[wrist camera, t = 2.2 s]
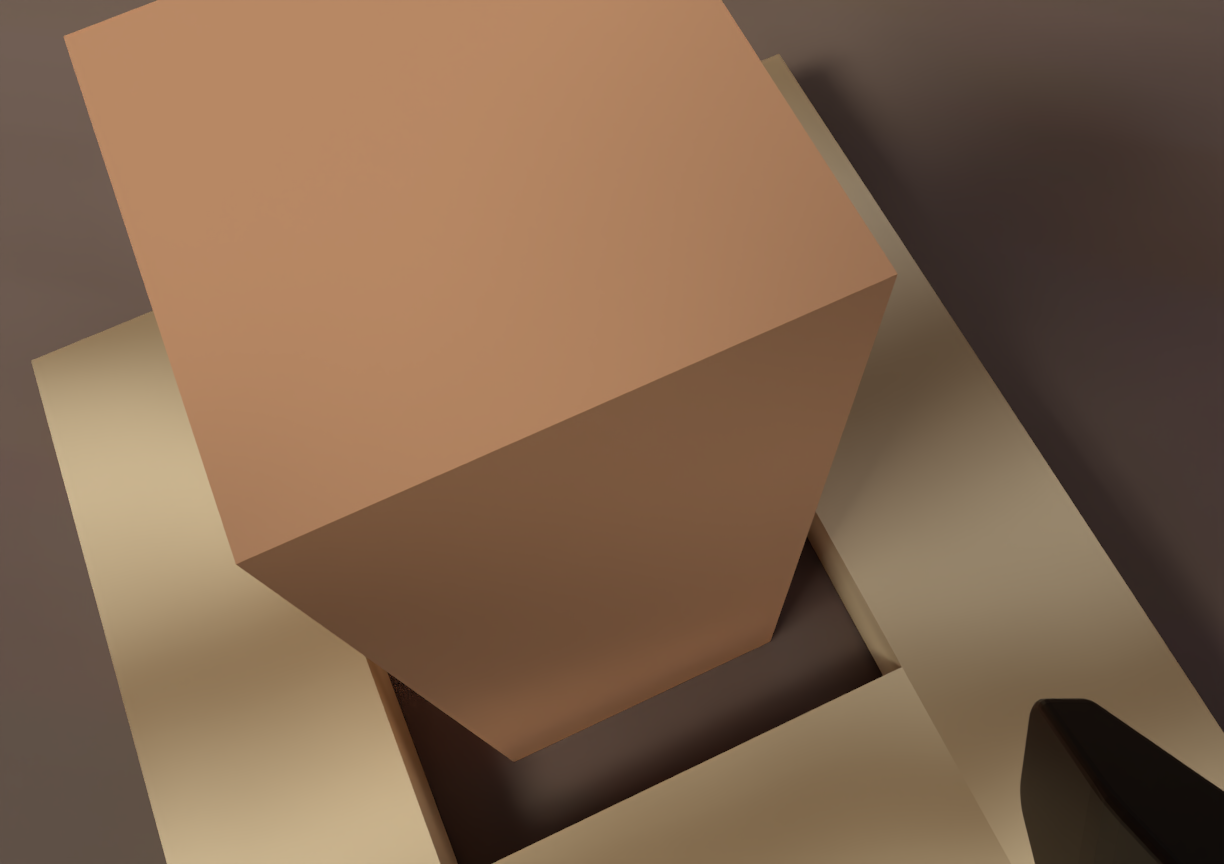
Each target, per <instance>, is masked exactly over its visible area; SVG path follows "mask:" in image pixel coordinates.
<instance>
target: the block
mask: <svg viewBox="0 0 1224 864" xmlns="http://www.w3.org/2000/svg"><path fill="white" fill-rule="evenodd" d="M64 39H65V42H66V45H67V48H68V51H69V55H70V58H71V61H72V64H73V67H74V70H75V73H76V76H77V79H78V82H79V85H80V88H81V91H82V94H83V97H84V101H85V104H86V107H87V110H88V113H89V116H90V119H91V122H92V125H93V128H94V131H95V134H96V137H97V140H98V143H99V147H100V150H101V153H102V156H103V159H104V162H105V165H106V168H107V171H108V174H109V177H110V180H111V183H112V186H113V189H114V192H115V196H116V199H117V202H118V205H119V208H120V211H121V214H122V217H123V220H124V223H125V226H126V229H127V232H128V235H129V238H130V242H131V245H132V248H133V251H134V254H135V257H136V260H137V263H138V266H139V269H140V272H141V275H142V278H143V281H144V284H145V288H146V291H147V294H148V297H149V300H150V303H151V306H152V309H153V312H154V315H155V318H156V321H157V324H158V327H159V330H160V334H161V337H162V340H163V343H164V346H165V349H166V352H167V355H168V358H169V361H170V364H171V367H172V370H173V373H174V376H175V379H176V383H177V386H178V389H179V392H180V395H181V398H182V401H183V404H184V407H185V410H186V413H187V416H188V419H189V422H190V425H191V429H192V432H193V435H194V438H195V441H196V444H197V447H198V450H199V453H200V456H201V459H202V462H203V465H204V468H205V471H206V474H207V478H208V481H209V484H210V487H211V490H212V493H213V496H214V499H215V502H216V505H217V508H218V511H219V514H220V517H221V520H222V524H223V527H224V530H225V533H226V536H227V539H228V542H229V545H230V548H231V551H232V554H233V557H234V560H235V563H236V565H237V566H239V567H240V568H242V569H243V570H245V571H246V572H247V573H249V574H250V575H252V576H253V577H254V578H256V579H257V580H259V581H260V582H261V583H263V584H264V585H266V586H267V587H268V588H270V589H271V590H273V591H274V592H275V593H277V594H278V595H280V596H281V597H282V598H284V599H285V600H287V601H288V602H290V603H291V604H292V605H294V606H295V607H297V608H298V609H299V610H301V611H302V612H304V613H305V614H306V615H308V616H309V617H311V618H312V619H313V620H315V621H316V622H318V623H319V624H320V625H322V626H323V627H325V628H326V629H327V630H329V631H330V632H332V633H333V634H335V635H336V636H337V637H339V638H340V639H342V640H343V641H344V642H346V643H347V644H349V645H350V646H351V647H353V648H354V649H356V650H357V651H358V652H360V653H361V654H363V655H364V656H365V657H367V658H368V659H370V660H371V661H372V662H374V663H375V664H377V665H378V666H380V667H381V668H382V669H384V670H385V671H387V672H388V673H389V674H391V675H392V676H394V677H395V678H396V679H398V680H399V681H401V682H402V683H403V684H405V685H406V686H408V687H409V688H410V689H412V690H413V691H415V692H416V693H418V694H419V695H420V696H422V697H423V698H425V699H426V700H427V701H429V702H430V703H432V704H433V705H434V706H436V707H437V708H439V709H440V710H441V711H443V712H444V713H446V714H447V715H448V716H450V717H451V718H453V719H454V720H455V721H457V722H458V723H460V724H461V725H463V726H464V727H465V728H467V729H468V730H470V731H471V732H472V733H474V734H475V735H477V736H478V737H479V738H481V739H482V740H484V741H485V742H486V743H488V744H489V745H491V746H492V747H493V748H495V749H496V750H498V751H499V752H500V753H502V754H503V755H505V756H506V757H508V758H509V759H510V760H512V761H513V762H516V761H518V760H520V759H522V758H524V757H526V756H528V755H530V754H533V753H535V752H537V751H539V750H541V749H543V748H545V747H547V746H550V745H552V744H554V743H556V742H558V741H560V740H562V739H564V738H567V737H569V736H571V735H573V734H575V733H577V732H579V731H581V730H584V729H586V728H588V727H590V726H592V725H594V724H596V723H598V722H601V721H603V720H605V719H607V718H609V717H611V716H613V715H615V714H618V713H620V712H622V711H624V710H626V709H628V708H630V707H632V706H635V705H637V704H639V703H641V702H643V701H645V700H647V699H649V698H652V697H654V696H656V695H658V694H660V693H662V692H664V691H666V690H669V689H671V688H673V687H675V686H677V685H679V684H681V683H683V682H686V681H688V680H690V679H692V678H694V677H696V676H698V675H700V674H703V673H705V672H707V671H709V670H711V669H713V668H715V667H717V666H720V665H722V664H724V663H726V662H728V661H730V660H732V659H734V658H737V657H739V656H741V655H743V654H745V653H747V652H749V651H751V650H754V649H756V648H758V647H760V646H762V645H764V644H766V643H768V642H770V641H771V638H772V636H773V633H774V630H775V627H776V624H777V621H778V618H779V615H780V612H781V610H782V607H783V604H784V601H785V598H786V595H787V592H788V589H789V587H790V584H791V581H792V578H793V575H794V572H795V569H796V566H797V563H798V561H799V558H800V555H801V552H802V549H803V546H804V543H805V540H806V537H807V535H808V532H809V529H810V526H811V523H812V520H813V517H814V514H815V511H816V509H817V506H818V503H819V500H820V497H821V494H822V491H823V488H824V485H825V483H826V480H827V477H828V474H829V471H830V468H831V465H832V462H833V459H834V457H835V454H836V451H837V448H838V445H839V442H840V439H841V436H842V433H843V431H844V428H845V425H846V422H847V419H848V416H849V413H850V410H851V407H852V405H853V402H854V399H855V396H856V393H857V390H858V387H859V384H860V381H861V379H862V376H863V373H864V370H865V367H866V364H867V361H868V358H869V355H870V353H871V350H872V347H873V344H874V341H875V338H876V335H877V332H878V330H879V327H880V324H881V321H882V318H883V315H884V312H885V309H886V306H887V304H888V301H889V298H890V295H891V292H892V289H893V286H894V283H895V280H896V278H897V275H898V274H897V272H896V271H895V269H894V267H893V266H892V264H891V263H890V261H889V260H888V258H887V257H886V255H885V253H884V252H883V250H882V249H881V247H880V246H879V244H878V243H877V241H876V239H875V238H874V236H873V235H872V233H871V232H870V230H869V229H868V227H867V225H866V224H865V222H864V221H863V219H862V218H861V216H860V215H859V213H858V212H857V210H856V208H855V207H854V205H853V204H852V202H851V201H850V199H849V198H848V196H847V194H846V193H845V191H844V190H843V188H842V187H841V185H840V184H839V182H838V180H837V179H836V177H835V176H834V174H833V173H832V171H831V170H830V168H829V167H828V165H827V163H826V162H825V160H824V159H823V157H822V156H821V154H820V153H819V151H818V149H817V148H816V146H815V145H814V143H813V142H812V140H811V139H810V137H809V135H808V134H807V132H806V131H805V129H804V128H803V126H802V125H801V123H800V121H799V120H798V118H797V117H796V115H795V114H794V112H793V111H792V109H791V108H790V106H789V104H788V103H787V101H786V100H785V98H784V97H783V95H782V94H781V92H780V90H779V89H778V87H777V86H776V84H775V83H774V81H773V80H772V78H771V76H770V75H769V73H768V72H767V70H766V69H765V67H764V66H763V64H762V62H761V61H760V59H759V58H758V56H757V55H756V53H755V52H754V50H753V49H752V47H751V45H750V44H749V42H748V41H747V39H746V38H745V36H744V35H743V33H742V31H741V30H740V28H739V27H738V25H737V24H736V22H735V21H734V19H733V17H732V16H731V14H730V13H729V11H728V10H727V8H726V7H725V5H724V4H723V2H722V0H157V1H155V2H152V3H150V4H147V5H144V6H142V7H139V8H136V9H134V10H131V11H129V12H126V13H123V14H121V15H118V16H115V17H113V18H110V19H108V20H105V21H102V22H100V23H97V24H94V25H92V26H89V27H87V28H84V29H81V30H79V31H76V32H73V33H71V34H68V35H66V36H64Z"/></svg>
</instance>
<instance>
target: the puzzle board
mask: <svg viewBox="0 0 1224 864" xmlns="http://www.w3.org/2000/svg"><path fill="white" fill-rule="evenodd" d="M761 62H762V64H763V66H764V67H765V69H766V70H767V72H768V73H769V75H770V76H771V78H772V80H773V81H774V83H775V84H776V86H777V87H778V89H779V90H780V92H781V94H782V95H783V97H784V98H785V100H786V101H787V103H788V104H789V106H790V108H791V109H792V111H793V112H794V114H795V115H796V117H797V118H798V120H799V121H800V123H801V125H802V126H803V128H804V129H805V131H806V132H807V134H808V135H809V137H810V139H811V140H812V142H813V143H814V145H815V146H816V148H817V149H818V151H819V153H820V154H821V156H822V157H823V159H824V160H825V162H826V163H827V165H828V167H829V168H830V170H831V171H832V173H833V174H834V176H835V177H836V179H837V180H838V182H839V184H840V185H841V187H842V188H843V190H844V191H845V193H846V194H847V196H848V198H849V199H850V201H851V202H852V204H853V205H854V207H855V208H856V210H857V212H858V213H859V215H860V216H861V218H862V219H863V221H864V222H865V224H866V225H867V227H868V229H869V230H870V232H871V233H872V235H873V236H874V238H875V239H876V241H877V243H878V244H879V246H880V247H881V249H882V250H883V252H884V253H885V255H886V257H887V258H888V260H889V261H890V263H891V264H892V266H893V267H894V269H895V271H896V272H897V274H898V275H897V278H896V280H895V283H894V286H893V289H892V292H891V295H890V298H889V301H888V304H887V306H886V309H885V312H884V315H883V318H882V321H881V324H880V327H879V330H878V332H877V335H876V338H875V341H874V344H873V347H872V350H871V353H870V355H869V358H868V361H867V364H866V367H865V370H864V373H863V376H862V379H861V381H860V384H859V387H858V390H857V393H856V396H855V399H854V402H853V405H852V407H851V410H850V413H849V416H848V419H847V422H846V425H845V428H844V431H843V433H842V436H841V439H840V442H839V445H838V448H837V451H836V454H835V457H834V459H833V462H832V465H831V468H830V471H829V474H828V477H827V480H826V483H825V485H824V488H823V491H822V494H821V497H820V500H819V503H818V506H817V509H816V511H815V514H814V517H813V520H812V523H811V526H810V529H809V532H808V535H807V537H808V539H809V541H810V543H811V545H812V547H813V548H814V550H815V552H816V554H817V556H818V558H819V559H820V561H821V563H822V565H823V567H824V569H825V570H826V572H827V574H828V576H829V578H830V580H831V581H832V583H833V585H834V587H835V589H836V591H837V592H838V594H839V596H840V598H841V600H842V602H843V603H844V605H845V607H846V609H847V611H848V613H849V614H850V616H851V618H852V620H853V622H854V624H855V625H856V627H857V629H858V631H859V633H860V634H861V636H862V638H863V640H864V642H865V644H866V645H867V647H868V649H869V651H870V653H871V655H872V656H873V658H874V660H875V662H876V664H877V666H878V667H879V669H880V671H881V673H882V675H883V676H882V677H880V678H878V679H876V680H874V681H872V682H870V683H867V684H865V685H863V686H861V687H859V688H857V689H855V690H853V691H851V692H849V693H847V694H845V695H842V696H840V697H838V698H836V699H834V700H832V701H830V702H828V703H826V704H824V705H822V706H820V707H817V708H815V709H813V710H811V711H809V712H807V713H805V714H803V715H801V716H799V717H797V718H795V719H792V720H790V721H788V722H786V723H784V724H782V725H780V726H778V727H776V728H774V729H772V730H770V731H767V732H765V733H763V734H761V735H759V736H757V737H755V738H753V739H751V740H749V741H747V742H745V743H742V744H740V745H738V746H736V747H734V748H732V749H730V750H728V751H726V752H724V753H722V754H720V755H717V756H715V757H713V758H711V759H709V760H707V761H705V762H703V763H701V764H699V765H697V766H695V767H692V768H690V769H688V770H686V771H684V772H682V773H680V774H678V775H676V776H674V777H672V778H669V779H667V780H665V781H663V782H661V783H659V784H657V785H655V786H653V787H651V788H649V789H647V790H644V791H642V792H640V793H638V794H636V795H634V796H632V797H630V798H628V799H626V800H624V801H622V802H619V803H617V804H615V805H613V806H611V807H609V808H607V809H605V810H603V811H601V812H599V813H597V814H594V815H592V816H590V817H588V818H586V819H584V820H582V821H580V822H578V823H576V824H574V825H572V826H569V827H567V828H565V829H563V830H561V831H559V832H557V833H555V834H553V835H551V836H549V837H547V838H544V839H542V840H540V841H538V842H536V843H534V844H532V845H530V846H528V847H526V848H524V849H522V850H519V851H517V852H515V853H513V854H511V855H509V856H507V857H505V858H503V859H501V860H499V861H497V862H494V863H492V864H1035V862H1034V858H1033V854H1032V850H1031V846H1030V842H1029V838H1028V834H1027V830H1026V826H1025V822H1024V818H1023V814H1022V808H1021V800H1020V780H1021V773H1022V765H1023V758H1024V751H1025V743H1026V736H1027V729H1028V722H1029V715H1030V711H1031V709H1032V707H1033V705H1034V703H1035V702H1037V701H1038V700H1039V699H1043V698H1084V699H1088V700H1091V701H1093V702H1095V703H1097V704H1098V705H1100V706H1101V707H1103V708H1104V709H1106V710H1107V711H1108V712H1110V713H1111V714H1113V715H1114V716H1116V717H1117V718H1119V719H1120V720H1121V721H1123V722H1124V723H1126V724H1127V725H1129V726H1130V727H1132V728H1133V729H1134V730H1136V731H1137V732H1139V733H1140V734H1142V735H1143V736H1145V737H1146V738H1148V739H1149V740H1150V741H1152V742H1153V743H1155V744H1156V745H1158V746H1159V747H1161V748H1162V749H1163V750H1165V751H1166V752H1168V753H1169V754H1171V755H1172V756H1174V757H1175V758H1177V759H1178V760H1179V761H1181V762H1182V763H1184V764H1185V765H1187V766H1188V767H1190V768H1191V769H1192V770H1194V771H1195V772H1197V773H1198V774H1200V775H1201V776H1203V777H1204V778H1205V779H1207V780H1208V781H1210V782H1211V783H1213V784H1214V785H1216V786H1217V787H1219V788H1220V789H1221V790H1223V791H1224V733H1223V731H1222V729H1221V728H1220V726H1219V725H1218V723H1217V722H1216V720H1215V719H1214V717H1213V716H1212V714H1211V713H1210V711H1209V710H1208V708H1207V707H1206V705H1205V704H1204V702H1203V700H1202V699H1201V697H1200V696H1199V694H1198V693H1197V691H1196V690H1195V688H1194V687H1193V685H1192V684H1191V682H1190V681H1189V679H1188V678H1187V676H1186V675H1185V673H1184V671H1183V670H1182V668H1181V667H1180V665H1179V664H1178V662H1177V661H1176V659H1175V658H1174V656H1173V655H1172V653H1171V652H1170V650H1169V649H1168V647H1167V646H1166V644H1165V642H1164V641H1163V639H1162V638H1161V636H1160V635H1159V633H1158V632H1157V630H1156V629H1155V627H1154V626H1153V624H1152V623H1151V621H1150V620H1149V618H1148V617H1147V615H1146V613H1145V612H1144V610H1143V609H1142V607H1141V606H1140V604H1139V603H1138V601H1137V600H1136V598H1135V597H1134V595H1133V594H1132V592H1131V591H1130V589H1129V588H1128V586H1127V584H1126V583H1125V581H1124V580H1123V578H1122V577H1121V575H1120V574H1119V572H1118V571H1117V569H1116V568H1115V566H1114V565H1113V563H1112V562H1111V560H1110V559H1109V557H1108V555H1107V554H1106V552H1105V551H1104V549H1103V548H1102V546H1101V545H1100V543H1099V542H1098V540H1097V539H1096V537H1095V536H1094V534H1093V533H1092V531H1091V530H1090V528H1089V526H1088V525H1087V523H1086V522H1085V520H1084V519H1083V517H1082V516H1081V514H1080V513H1079V511H1078V510H1077V508H1076V507H1075V505H1074V504H1073V502H1072V501H1071V499H1070V497H1069V496H1068V494H1067V493H1066V491H1065V490H1064V488H1063V487H1062V485H1061V484H1060V482H1059V481H1058V479H1057V478H1056V476H1055V475H1054V473H1053V472H1052V470H1051V468H1050V467H1049V465H1048V464H1047V462H1046V461H1045V459H1044V458H1043V456H1042V455H1041V453H1040V452H1039V450H1038V449H1037V447H1036V446H1035V444H1034V443H1033V441H1032V439H1031V438H1030V436H1029V435H1028V433H1027V432H1026V430H1025V429H1024V427H1023V426H1022V424H1021V423H1020V421H1019V420H1018V418H1017V417H1016V415H1015V414H1014V412H1013V410H1012V409H1011V407H1010V406H1009V404H1008V403H1007V401H1006V400H1005V398H1004V397H1003V395H1002V394H1001V392H1000V391H999V389H998V388H997V386H996V385H995V383H994V381H993V380H992V378H991V377H990V375H989V374H988V372H987V371H986V369H985V368H984V366H983V365H982V363H981V362H980V360H979V359H978V357H977V356H976V354H975V352H974V351H973V349H972V348H971V346H970V345H969V343H968V342H967V340H966V339H965V337H964V336H963V334H962V333H961V331H960V330H959V328H958V327H957V325H956V323H955V322H954V320H953V319H952V317H951V316H950V314H949V313H948V311H947V310H946V308H945V307H944V305H943V304H942V302H941V301H940V299H939V298H938V296H937V294H936V293H935V291H934V290H933V288H932V287H931V285H930V284H929V282H928V281H927V279H926V278H925V276H924V275H923V273H922V272H921V270H920V268H919V267H918V265H917V264H916V262H915V261H914V259H913V258H912V256H911V255H910V253H909V252H908V250H907V249H906V247H905V246H904V244H903V243H902V241H901V239H900V238H899V236H898V235H897V233H896V232H895V230H894V229H893V227H892V226H891V224H890V223H889V221H888V220H887V218H886V217H885V215H884V214H883V212H882V210H881V209H880V207H879V206H878V204H877V203H876V201H875V200H874V198H873V197H872V195H871V194H870V192H869V191H868V189H867V188H866V186H865V185H864V183H863V181H862V180H861V178H860V177H859V175H858V174H857V172H856V171H855V169H854V168H853V166H852V165H851V163H850V162H849V160H848V159H847V157H846V156H845V154H844V152H843V151H842V149H841V148H840V146H839V145H838V143H837V142H836V140H835V139H834V137H833V136H832V134H831V133H830V131H829V130H828V128H827V127H826V125H825V123H824V122H823V120H822V119H821V117H820V116H819V114H818V113H817V111H816V110H815V108H814V107H813V105H812V104H811V102H810V101H809V99H808V98H807V96H806V94H805V93H804V91H803V90H802V88H801V87H800V85H799V84H798V82H797V81H796V79H795V78H794V76H793V75H792V73H791V72H790V70H789V69H788V67H787V65H786V64H785V62H784V61H783V59H782V58H781V56H780V55H779V54H777V55H775V56H772V57H770V58H767V59H765V60H763V61H761ZM31 362H32V365H33V369H34V373H35V377H36V380H37V384H38V388H39V391H40V395H41V399H42V402H43V406H44V410H45V414H46V417H47V421H48V425H49V428H50V432H51V436H52V439H53V443H54V447H55V451H56V454H57V458H58V462H59V465H60V469H61V473H62V476H63V480H64V484H65V488H66V491H67V495H68V499H69V502H70V506H71V510H72V514H73V517H74V521H75V525H76V528H77V532H78V536H79V539H80V543H81V547H82V551H83V554H84V558H85V562H86V565H87V569H88V573H89V576H90V580H91V584H92V588H93V591H94V595H95V599H96V602H97V606H98V610H99V613H100V617H101V621H102V625H103V628H104V632H105V636H106V639H107V643H108V647H109V650H110V654H111V658H112V662H113V665H114V669H115V673H116V676H117V680H118V684H119V688H120V691H121V695H122V699H123V702H124V706H125V710H126V713H127V717H128V721H129V725H130V728H131V732H132V736H133V739H134V743H135V747H136V750H137V754H138V758H139V762H140V765H141V769H142V773H143V776H144V780H145V784H146V787H147V791H148V795H149V799H150V802H151V806H152V810H153V813H154V817H155V821H156V824H157V828H158V832H159V836H160V839H161V843H162V847H163V850H164V854H165V858H166V862H167V864H458V863H457V860H456V857H455V855H454V852H453V849H452V847H451V844H450V841H449V838H448V836H447V833H446V830H445V828H444V825H443V822H442V819H441V817H440V814H439V811H438V809H437V806H436V803H435V800H434V798H433V795H432V792H431V789H430V787H429V784H428V781H427V779H426V776H425V773H424V770H423V768H422V765H421V762H420V760H419V757H418V754H417V751H416V749H415V746H414V743H413V741H412V738H411V735H410V732H409V730H408V727H407V724H406V722H405V719H404V716H403V713H402V711H401V708H400V705H399V703H398V700H397V697H396V694H395V692H394V689H393V686H392V684H391V681H390V678H389V675H388V673H387V671H385V670H384V669H382V668H381V667H380V666H378V665H377V664H375V663H374V662H372V661H371V660H370V659H368V658H367V657H365V656H364V655H363V654H361V653H360V652H358V651H357V650H356V649H354V648H353V647H351V646H350V645H349V644H347V643H346V642H344V641H343V640H342V639H340V638H339V637H337V636H336V635H335V634H333V633H332V632H330V631H329V630H327V629H326V628H325V627H323V626H322V625H320V624H319V623H318V622H316V621H315V620H313V619H312V618H311V617H309V616H308V615H306V614H305V613H304V612H302V611H301V610H299V609H298V608H297V607H295V606H294V605H292V604H291V603H290V602H288V601H287V600H285V599H284V598H282V597H281V596H280V595H278V594H277V593H275V592H274V591H273V590H271V589H270V588H268V587H267V586H266V585H264V584H263V583H261V582H260V581H259V580H257V579H256V578H254V577H253V576H252V575H250V574H249V573H247V572H246V571H245V570H243V569H242V568H240V567H239V566H237V565H236V563H235V560H234V557H233V554H232V551H231V548H230V545H229V542H228V539H227V536H226V533H225V530H224V527H223V524H222V520H221V517H220V514H219V511H218V508H217V505H216V502H215V499H214V496H213V493H212V490H211V487H210V484H209V481H208V478H207V474H206V471H205V468H204V465H203V462H202V459H201V456H200V453H199V450H198V447H197V444H196V441H195V438H194V435H193V432H192V429H191V425H190V422H189V419H188V416H187V413H186V410H185V407H184V404H183V401H182V398H181V395H180V392H179V389H178V386H177V383H176V379H175V376H174V373H173V370H172V367H171V364H170V361H169V358H168V355H167V352H166V349H165V346H164V343H163V340H162V337H161V334H160V330H159V327H158V324H157V321H156V318H155V315H154V312H153V311H151V312H149V313H146V314H144V315H141V316H139V317H136V318H134V319H132V320H129V321H127V322H124V323H122V324H119V325H117V326H115V327H112V328H110V329H107V330H105V331H102V332H100V333H98V334H95V335H93V336H90V337H88V338H85V339H83V340H80V341H78V342H76V343H73V344H71V345H68V346H66V347H63V348H61V349H59V350H56V351H54V352H51V353H49V354H46V355H44V356H41V357H39V358H37V359H34V360H32V361H31Z"/></svg>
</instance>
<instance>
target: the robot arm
mask: <svg viewBox="0 0 1224 864" xmlns="http://www.w3.org/2000/svg"><path fill="white" fill-rule="evenodd" d="M1020 800H1021V808H1022V814H1023V818H1024V822H1025V826H1026V830H1027V834H1028V838H1029V842H1030V846H1031V850H1032V854H1033V858H1034V862H1035V864H1224V791H1223V790H1221V789H1220V788H1219V787H1217V786H1216V785H1214V784H1213V783H1211V782H1210V781H1208V780H1207V779H1205V778H1204V777H1203V776H1201V775H1200V774H1198V773H1197V772H1195V771H1194V770H1192V769H1191V768H1190V767H1188V766H1187V765H1185V764H1184V763H1182V762H1181V761H1179V760H1178V759H1177V758H1175V757H1174V756H1172V755H1171V754H1169V753H1168V752H1166V751H1165V750H1163V749H1162V748H1161V747H1159V746H1158V745H1156V744H1155V743H1153V742H1152V741H1150V740H1149V739H1148V738H1146V737H1145V736H1143V735H1142V734H1140V733H1139V732H1137V731H1136V730H1134V729H1133V728H1132V727H1130V726H1129V725H1127V724H1126V723H1124V722H1123V721H1121V720H1120V719H1119V718H1117V717H1116V716H1114V715H1113V714H1111V713H1110V712H1108V711H1107V710H1106V709H1104V708H1103V707H1101V706H1100V705H1098V704H1097V703H1095V702H1093V701H1091V700H1088V699H1084V698H1043V699H1039V700H1038V701H1037V702H1035V703H1034V705H1033V707H1032V709H1031V711H1030V715H1029V722H1028V729H1027V736H1026V743H1025V751H1024V758H1023V765H1022V773H1021V780H1020Z"/></svg>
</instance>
